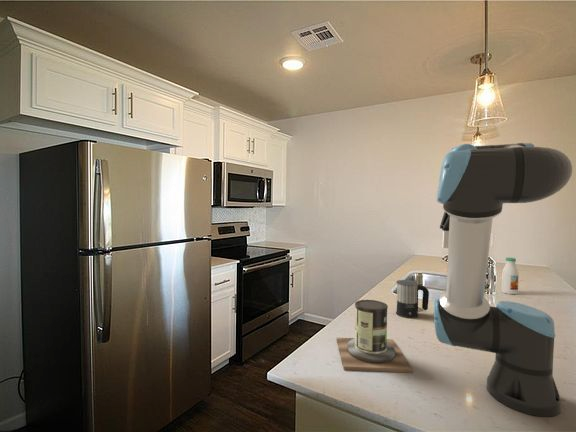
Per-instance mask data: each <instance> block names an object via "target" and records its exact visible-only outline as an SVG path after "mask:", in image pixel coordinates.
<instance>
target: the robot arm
mask: <svg viewBox="0 0 576 432" xmlns="http://www.w3.org/2000/svg"><path fill="white" fill-rule="evenodd" d="M572 174H573V165H572V161H571V160H570V158H569V157H568V155H566V154H565V153H564V152H562V151H560V150H558V149H555V148H550V147H543V146H541V147H540V146H535V145H534V144H533V143H532V142H527V143H526V142H525V143H524V142H518V143H507V144H489V145H473V144H470V143H464V144H461V145H458V146H454V147H453V148H451V149H450V152H449V151H448V153H446V154H445V156H444V157H443V160H442V163H441V168H440V173H439V178H438V186H437V193H436V201H437V202H438V203H440V204H443V206H442V209H443V211H444V212H443V216H442V219H441V222H440V225H439V229H441V230H442V246H441V248H442V249H447V266H446V267H447V269H446V288H445V289H446V290H444V291H443V292H442V293H441V295H440V296H439V298H438V299H434V300H433V319H434V320H433V321H434V323H433V324H434V332H435V335H436V338H437V340H438V341H439V342H440V343H442V344H445V345H449V346H452V347H459V348H465V349H471V350H477V351H482V352H488V353H492V354H495V360H494V363H493V365H492V367H491V369H490V371H489V373H488V375H487V378H486V390H487V392H488V393H489V395H490V396H492V397H493V398H494V399H496V401H498V402H499V403H501V404H503V405H504V406H505V407H506V406H507V407H509V408H511V409H512V410H516V411H519V412H522V413H523V414H528V415H532V416H536V417H537V416H538V417H554V416H557V415H558V414H560V413H561V411H562V399H561V397H560V393H559V391H558V388H557V385H556V382H555V378H554V376H553V374H554V372H553V371H554V370H553V369H554V350H555V348H554V347H555V338H556V333H555V322H554V319H553V318H552V316H550V315H549V314H548V313H546V312H544V311H543V310H540V309H538V308H536V307H533V306H530V305H527V304H524V303H520V302H514V301H508V300H500V301H499V302H497V304H496V306H490V303H489V301H488V300H487V298H486V297H485V289H486V282H487V281H486V280H487V272H488V264H489V262H488V261H489V253H490V245H491V244H490V243H491V235H492V226H493V219H494V218H495V217H497V216H499V215H501V213H502V212H503V205H504V204H527V203H533V202H537V201H538V202H539V201H542V200H544V199H547V198H549V197H551V196H553V195H555V194H557V193H558V192H560V191H561V190H562V189H563V188H564V187H565V186H566V185H567V184H568V183H569V181H570V179H571V177H572Z"/></svg>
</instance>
